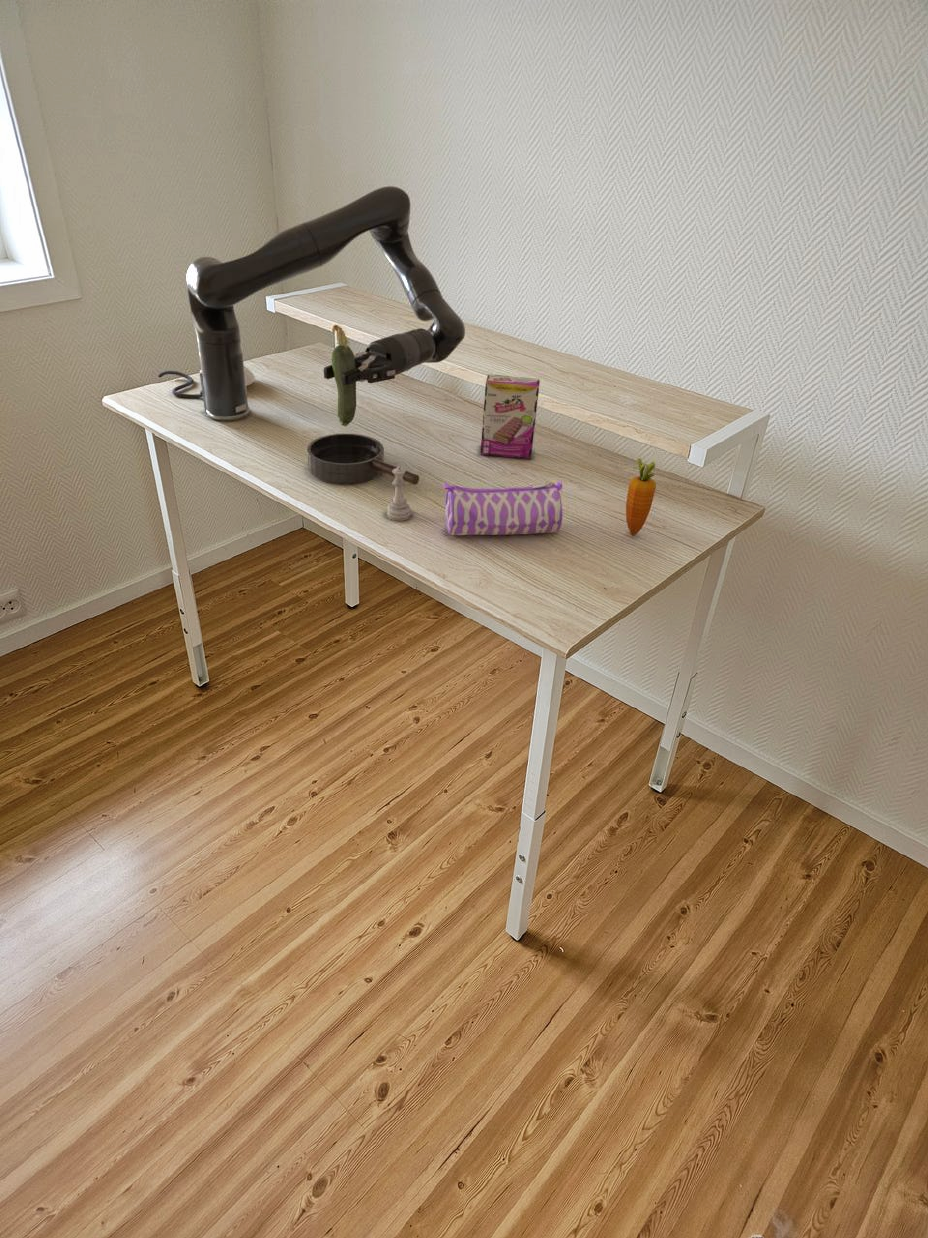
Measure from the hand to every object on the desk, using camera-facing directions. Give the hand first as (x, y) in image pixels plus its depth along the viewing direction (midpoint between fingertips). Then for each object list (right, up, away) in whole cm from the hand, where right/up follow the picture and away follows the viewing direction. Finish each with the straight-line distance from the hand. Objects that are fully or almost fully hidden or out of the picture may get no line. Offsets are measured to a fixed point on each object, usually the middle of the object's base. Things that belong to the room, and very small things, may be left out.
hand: (334, 376), depth 157 cm
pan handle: (+11, -18, +5) cm, 22 cm away
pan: (0, -15, +13) cm, 20 cm away
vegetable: (+1, -8, +8) cm, 12 cm away
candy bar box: (+34, -10, +23) cm, 42 cm away
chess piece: (+12, -27, -2) cm, 30 cm away
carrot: (+56, -31, -4) cm, 64 cm away
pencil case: (+32, -30, -5) cm, 44 cm away
